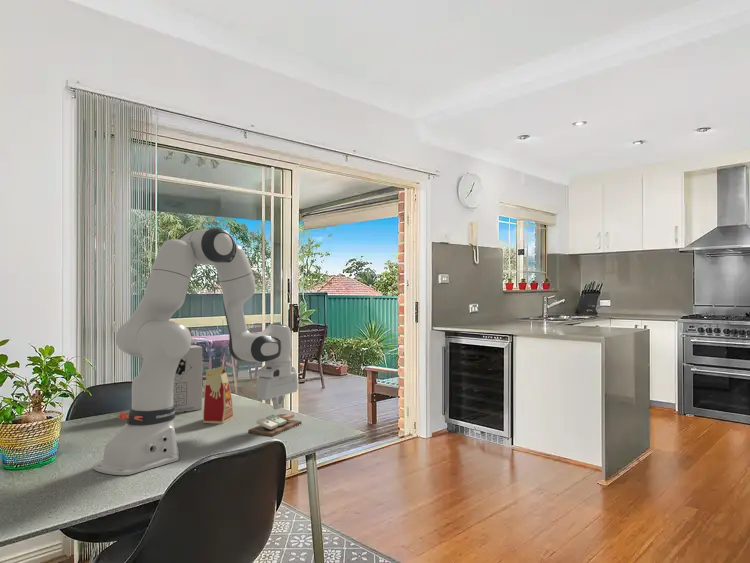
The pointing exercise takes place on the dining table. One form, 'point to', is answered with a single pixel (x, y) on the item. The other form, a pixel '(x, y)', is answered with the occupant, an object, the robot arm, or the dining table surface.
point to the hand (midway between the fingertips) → (277, 408)
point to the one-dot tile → (267, 423)
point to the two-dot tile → (276, 420)
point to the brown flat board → (274, 431)
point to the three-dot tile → (286, 416)
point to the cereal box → (188, 381)
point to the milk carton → (217, 397)
